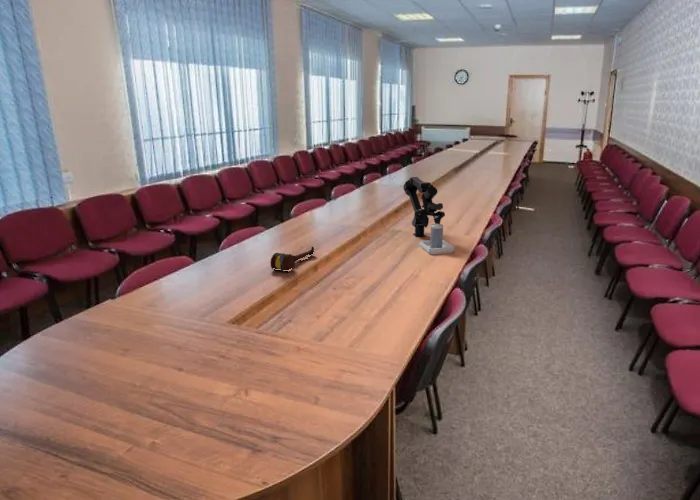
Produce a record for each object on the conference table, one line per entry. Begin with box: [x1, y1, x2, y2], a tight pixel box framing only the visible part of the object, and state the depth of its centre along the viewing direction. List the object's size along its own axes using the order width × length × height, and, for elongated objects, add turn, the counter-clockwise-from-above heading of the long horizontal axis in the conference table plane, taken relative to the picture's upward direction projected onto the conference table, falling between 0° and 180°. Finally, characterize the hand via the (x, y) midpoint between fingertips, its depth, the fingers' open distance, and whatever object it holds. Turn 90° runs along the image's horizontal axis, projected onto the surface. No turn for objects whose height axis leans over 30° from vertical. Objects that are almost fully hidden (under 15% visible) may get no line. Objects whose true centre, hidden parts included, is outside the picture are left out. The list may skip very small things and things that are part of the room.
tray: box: [418, 239, 455, 255], centre depth 267 cm, size 16×14×3 cm
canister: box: [429, 223, 444, 249], centre depth 265 cm, size 7×7×13 cm
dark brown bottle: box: [270, 246, 315, 271], centre depth 244 cm, size 10×34×10 cm
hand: (432, 228), depth 273 cm, fingers open, 9 cm apart
